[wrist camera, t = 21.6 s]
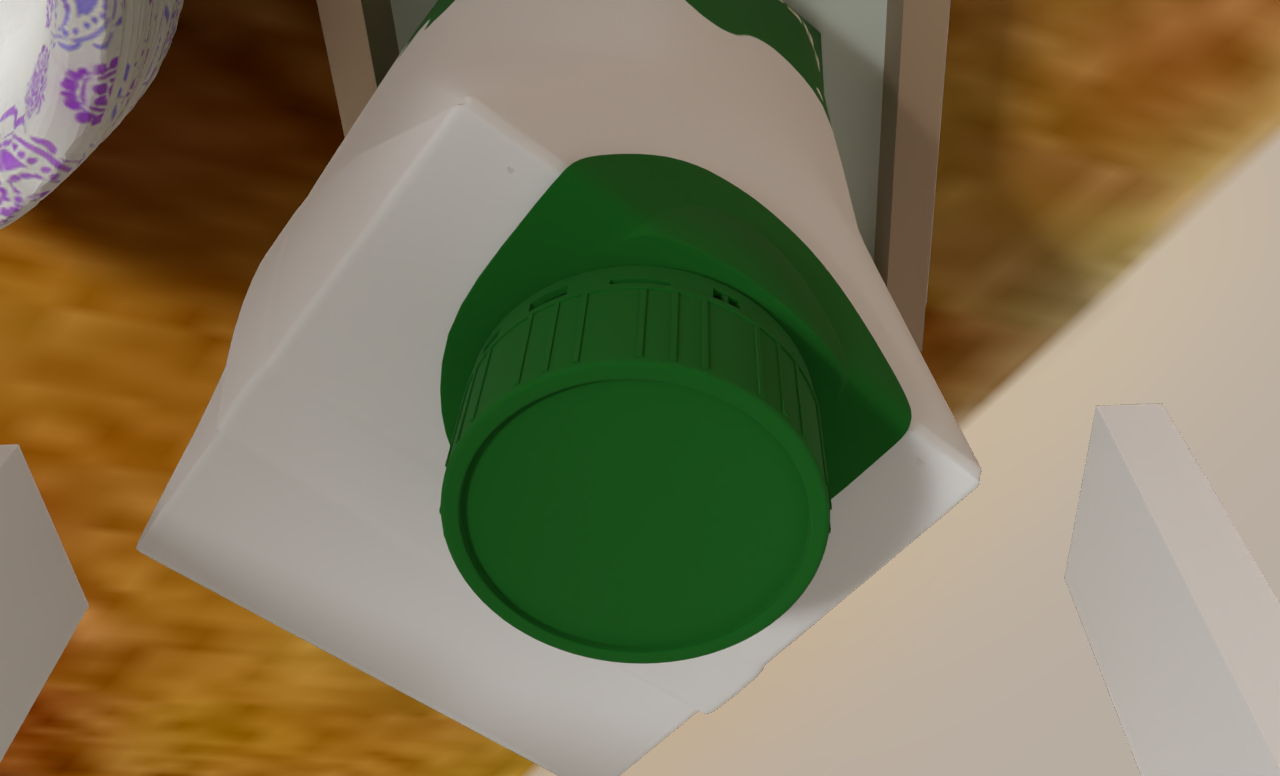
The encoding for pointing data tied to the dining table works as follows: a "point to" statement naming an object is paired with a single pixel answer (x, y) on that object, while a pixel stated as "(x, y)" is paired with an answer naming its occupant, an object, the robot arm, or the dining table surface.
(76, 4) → the paper bowls
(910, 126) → the seat board
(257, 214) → the dining table surface
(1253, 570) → the robot arm
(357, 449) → the soya milk
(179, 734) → the dining table surface
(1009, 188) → the dining table surface
